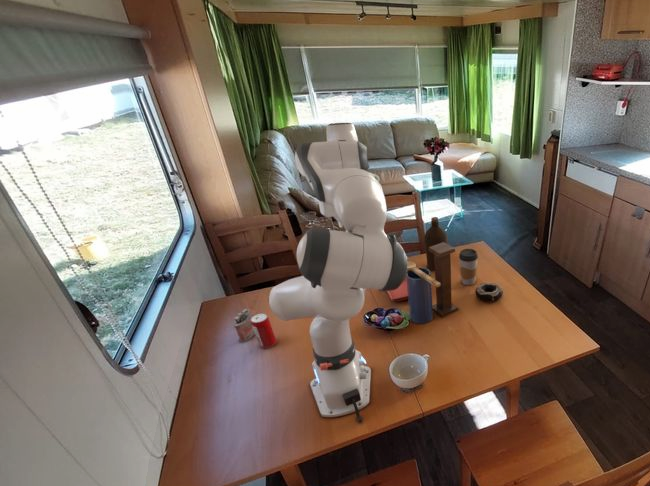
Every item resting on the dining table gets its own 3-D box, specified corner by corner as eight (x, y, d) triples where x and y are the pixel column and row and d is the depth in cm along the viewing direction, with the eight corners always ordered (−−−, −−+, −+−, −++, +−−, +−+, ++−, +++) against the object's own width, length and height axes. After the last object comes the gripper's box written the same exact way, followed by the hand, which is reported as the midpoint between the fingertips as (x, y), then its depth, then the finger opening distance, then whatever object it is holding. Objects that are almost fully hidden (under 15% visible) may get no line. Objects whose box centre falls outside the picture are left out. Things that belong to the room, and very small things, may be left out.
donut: (472, 301, 160) (472, 293, 158) (478, 287, 170) (478, 279, 168) (500, 305, 158) (500, 297, 156) (504, 290, 167) (504, 282, 165)
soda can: (280, 340, 139) (270, 313, 133) (269, 350, 135) (259, 323, 128) (267, 337, 140) (257, 311, 134) (256, 347, 136) (246, 320, 129)
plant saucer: (381, 285, 171) (380, 278, 169) (419, 276, 178) (419, 270, 176) (392, 306, 157) (391, 299, 156) (433, 295, 164) (432, 289, 162)
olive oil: (446, 272, 181) (444, 223, 168) (424, 271, 182) (421, 222, 168) (449, 261, 190) (447, 214, 177) (428, 260, 191) (425, 213, 177)
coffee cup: (480, 280, 175) (481, 251, 167) (471, 288, 169) (471, 258, 161) (465, 275, 178) (465, 246, 170) (455, 283, 172) (455, 253, 164)
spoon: (444, 284, 134) (444, 281, 133) (433, 289, 131) (432, 286, 130) (411, 262, 147) (411, 260, 147) (400, 267, 144) (400, 264, 144)
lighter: (245, 342, 138) (236, 320, 133) (237, 341, 139) (228, 319, 133) (260, 329, 145) (252, 307, 139) (252, 327, 145) (244, 306, 140)
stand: (458, 309, 155) (457, 248, 140) (442, 317, 151) (439, 254, 136) (445, 301, 160) (443, 241, 145) (430, 308, 156) (426, 247, 141)
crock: (435, 320, 149) (433, 276, 138) (413, 325, 146) (409, 281, 136) (429, 308, 156) (426, 265, 145) (407, 312, 153) (403, 269, 143)
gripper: (319, 189, 107) (329, 234, 114) (383, 175, 118) (388, 217, 125) (311, 184, 111) (320, 228, 118) (373, 171, 122) (378, 212, 129)
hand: (356, 222), depth 122 cm, fingers open, 8 cm apart
